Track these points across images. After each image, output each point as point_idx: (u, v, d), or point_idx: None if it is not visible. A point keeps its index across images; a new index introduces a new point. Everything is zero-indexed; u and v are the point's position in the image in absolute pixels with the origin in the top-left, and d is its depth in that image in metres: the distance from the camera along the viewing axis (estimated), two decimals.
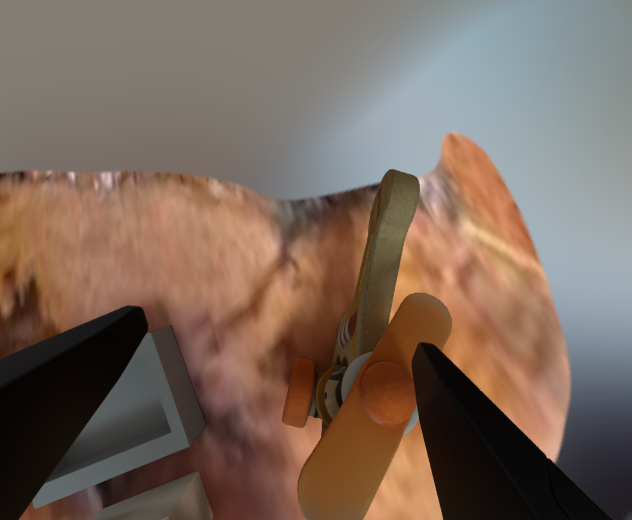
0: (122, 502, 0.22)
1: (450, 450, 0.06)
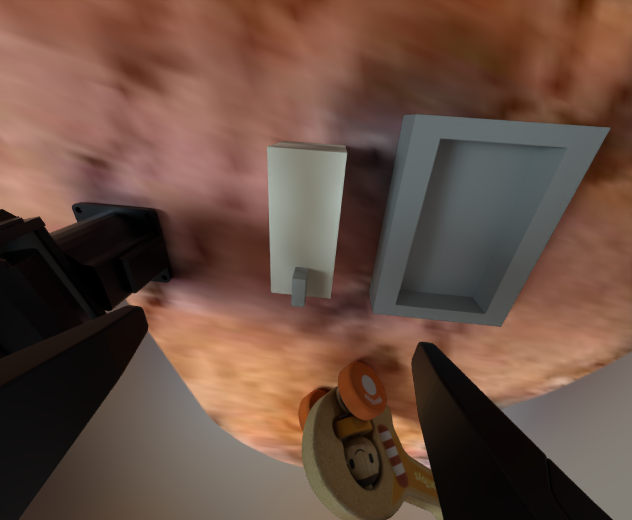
0: None
1: (450, 450, 0.06)
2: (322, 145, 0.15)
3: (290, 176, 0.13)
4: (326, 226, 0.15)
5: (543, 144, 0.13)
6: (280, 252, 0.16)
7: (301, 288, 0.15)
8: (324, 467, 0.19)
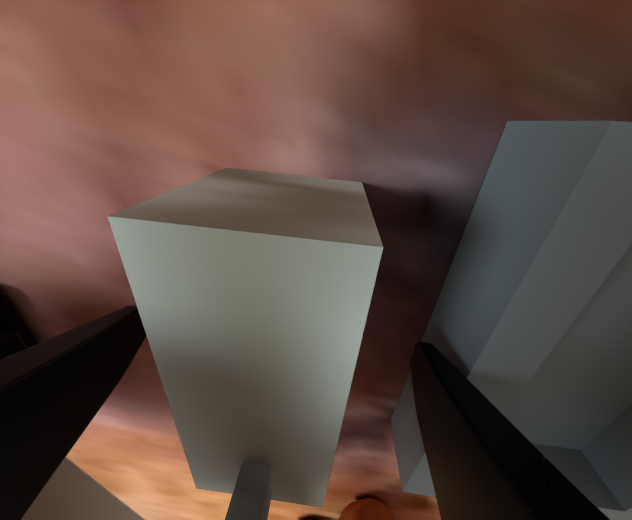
0: None
1: (448, 450, 0.06)
2: (308, 186, 0.06)
3: (201, 300, 0.04)
4: (312, 408, 0.06)
5: None
6: (204, 439, 0.07)
7: None
8: None
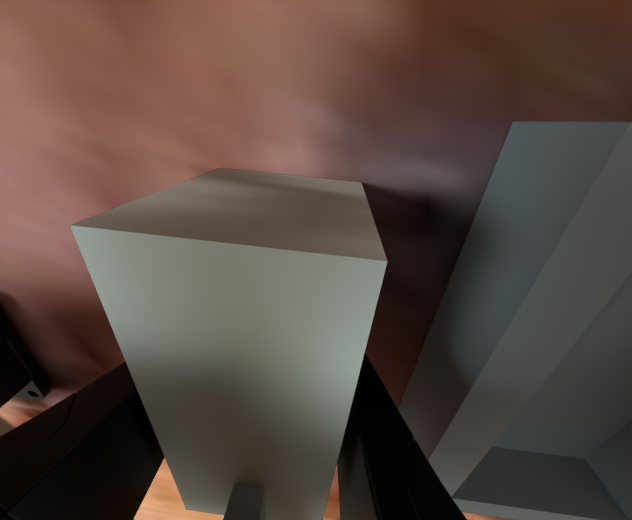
0: None
1: (344, 435, 0.06)
2: (304, 188, 0.06)
3: (182, 319, 0.04)
4: (308, 432, 0.05)
5: None
6: (192, 462, 0.06)
7: None
8: None
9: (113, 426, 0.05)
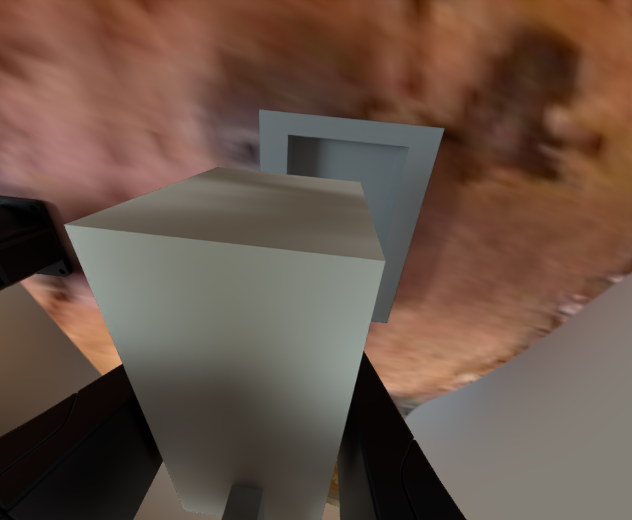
0: None
1: (344, 435, 0.06)
2: (302, 188, 0.06)
3: (177, 319, 0.04)
4: (306, 434, 0.05)
5: (385, 143, 0.13)
6: (190, 463, 0.06)
7: None
8: None
9: (113, 426, 0.05)
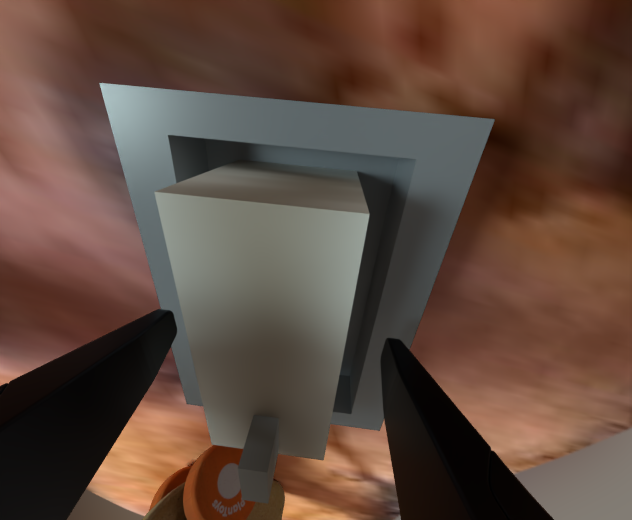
0: None
1: (406, 444, 0.06)
2: (310, 174, 0.07)
3: (225, 262, 0.05)
4: (314, 360, 0.07)
5: (367, 151, 0.06)
6: (221, 393, 0.08)
7: (259, 482, 0.07)
8: None
9: (40, 416, 0.05)
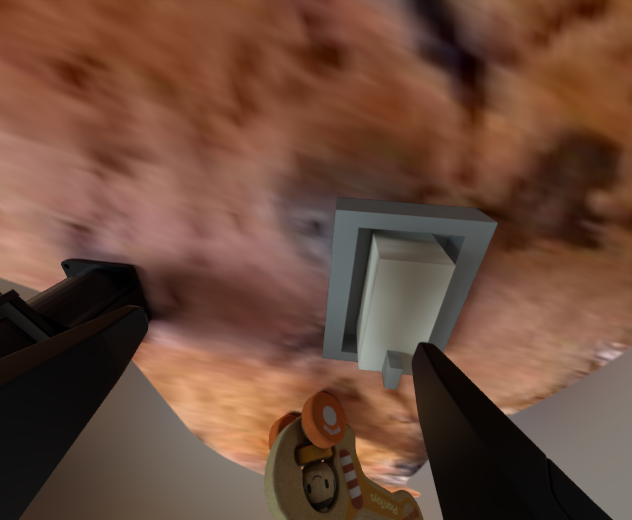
0: None
1: (450, 450, 0.06)
2: (414, 239, 0.16)
3: (397, 282, 0.14)
4: (423, 320, 0.16)
5: (444, 233, 0.15)
6: (374, 339, 0.17)
7: (397, 375, 0.16)
8: (280, 493, 0.22)
9: None
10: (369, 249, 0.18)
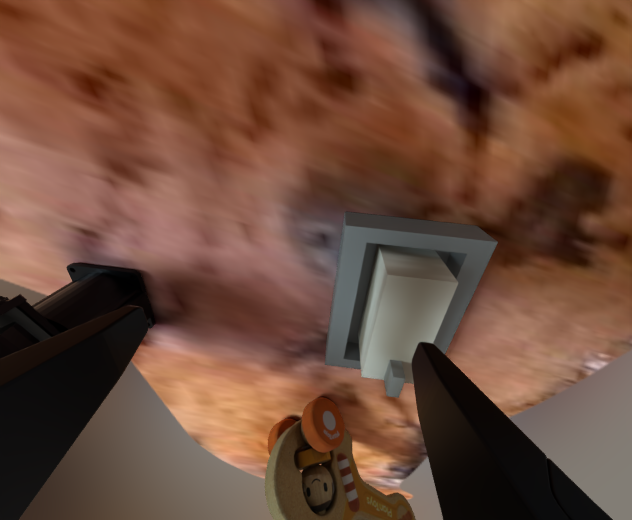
0: None
1: (450, 450, 0.06)
2: (418, 254, 0.17)
3: (403, 296, 0.15)
4: (426, 332, 0.16)
5: (447, 250, 0.16)
6: (378, 349, 0.17)
7: (400, 384, 0.17)
8: (281, 496, 0.22)
9: None
10: (374, 262, 0.19)
